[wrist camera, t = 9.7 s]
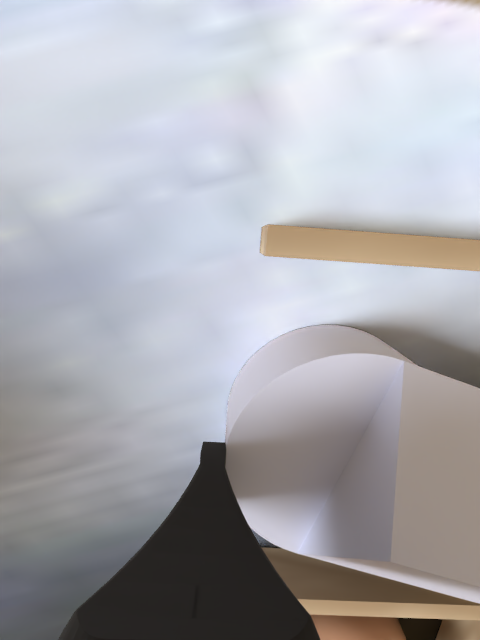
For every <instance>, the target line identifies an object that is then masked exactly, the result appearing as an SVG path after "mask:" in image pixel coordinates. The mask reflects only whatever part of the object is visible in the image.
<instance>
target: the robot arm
mask: <svg viewBox="0 0 480 640" xmlns="http://www.w3.org/2000/svg"><path fill="white" fill-rule="evenodd" d="M225 467H226V443H220V442H203V445H202V450H201V457H200V465H199V467H198V469H197V471H196V473H195V475H194V477H193V478H192V480H191V482H190V484H189V485H188V487H187V488H186V490H185V492H184V493H183V495H182V496H181V498H180V499H179V501H178V502H177V504H176V505H175V507H174V508H173V510H172V511H171V512H170V514H169V515H168V516H167V518H166V519H165V520H164V522H163V523H162V524H161V525H160V527H159V528H158V529H157V530H156V531H155V533H154V534H153V535H152V536H151V537H150V539H149V540H148V541H147V542H146V543H145V544H144V545H143V547H142V548H141V549H140V550H139V551H138V552H137V553H136V554H135V555H134V556H133V557H132V558H131V559H130V560H129V561H128V562H127V563H126V564H125V565H124V566H123V567H122V568H121V569H120V570H119V571H118V572H117V573H116V575H114V576H113V577H112V578H111V579H110V580H109V581H108V582H107V583H106V584H105V585H104V586H103V587H101V588H100V589H99V590H98V591H97V592H96V593H95V594H94V595H92V596H91V597H90V598H89V599H88V600H87V601H86V602H85V603H83V604H82V605H81V606H80V607H79V608H78V609H77V610H76V611H75V612H74V614H73V615H72V617H71V619H70V620H69V622H68V624H67V625H66V627H65V629H64V630H63V632H62V634H61V636H60V637H59V639H58V640H320V637H319V634H318V632H317V629H316V627H315V624H314V622H313V620H312V617H311V615H310V614H309V613H308V612H307V610H306V609H305V608H304V607H303V606H302V604H301V603H300V602H299V601H298V599H297V598H296V597H295V596H294V594H293V593H292V592H291V590H290V589H289V588H288V586H287V585H286V584H285V582H284V581H283V579H282V578H281V577H280V575H279V574H278V573H277V571H276V570H275V568H274V567H273V565H272V564H271V562H270V560H269V559H268V557H267V556H266V554H265V553H264V551H263V549H262V548H261V546H260V545H259V543H258V541H257V540H256V538H255V536H254V534H253V532H252V531H251V529H250V527H249V525H248V523H247V521H246V519H245V517H244V515H243V513H242V511H241V508H240V506H239V504H238V502H237V499H236V497H235V494H234V492H233V489H232V486H231V483H230V481H229V478H228V475H227V471H226V468H225Z"/></svg>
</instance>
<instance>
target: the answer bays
mask: <svg viewBox="0 0 480 640" xmlns="http://www.w3.org/2000/svg"><path fill="white" fill-rule="evenodd" d="M260 253H261V254H263V255H264V256H273V257H287V258H301V259H315V260H329V261H344V262H358V263H372V264H386V265H400V266H414V267H429V268H443V269H457V270H471V271H480V240H472V239H458V238H445V237H431V236H418V235H404V234H391V233H377V232H363V231H350V230H336V229H323V228H309V227H296V226H282V225H266V226H263V227H262V232H261V244H260ZM261 548H262V549H263V551H264V553H265V554H266V556H267V557H268V559H269V560H270V562H271V564H272V565H273V567H274V568H275V570H276V571H277V573H278V574H279V575H280V577H281V578H282V579H283V581H284V582H285V584H286V585H287V586H288V588H289V589H290V590H291V592H292V593H293V594H294V596H295V597H296V598H297V599H298V601H299V602H300V603H301V604H302V606H303V607H304V608H305V609H306V610H307V612H308V613H309V614H310V615H339V616H368V617H397V618H425V619H443V620H442V623H441V626H440V629H439V631H438V634H437V637H436V640H480V603H475V602H471V601H468V600H464V599H460V598H457V597H453V596H450V595H446V594H442V593H439V592H435V591H431V590H428V589H424V588H420V587H417V586H413V585H410V584H406V583H402V582H399V581H395V580H391V579H388V578H384V577H381V576H377V575H373V574H370V573H366V572H362V571H359V570H355V569H352V568H348V567H344V566H341V565H337V564H333V563H330V562H326V561H322V560H319V559H315V558H312V557H308V556H304V555H301V554H297V553H294V552H291V551H288V550H285V549H283V548H265V547H261Z"/></svg>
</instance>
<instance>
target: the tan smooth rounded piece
mask: <svg viewBox="0 0 480 640" xmlns="http://www.w3.org/2000/svg"><path fill="white" fill-rule="evenodd" d="M311 617H312V620H313V622H314V624H315V627H316V629H317V632H318V634H319V637H320V640H407V639H406V637H405V635H404V632H403V630H402V628H401V625H400V623H399V621H398V618H397V617H368V616H339V615H311Z"/></svg>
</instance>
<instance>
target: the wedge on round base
mask: <svg viewBox="0 0 480 640" xmlns="http://www.w3.org/2000/svg"><path fill="white" fill-rule="evenodd" d="M225 443H226V467H225V468H226V471H227V475H228V478H229V481H230V483H231V486H232V489H233V492H234V494H235V497H236V499H237V502H238V504H239V506H240V508H241V511H242V513H243V515H244V517H245V519H246V521H247V523H248V525H249V527H250V528H251V529H253V530H254V531H255V532H256V533H257V534H258V535H260V536H261V537H263V538H264V539H266V540H267V541H269V542H270V543H272V544H274V545H277V546H279V547H281V548H283V549H285V550H288V551H291V552H294V553H297V554H301V555H304V556H308V557H312V558H315V559H319V560H322V561H326V562H330V563H333V564H337V565H341V566H344V567H348V568H352V569H355V570H359V571H362V572H366V573H370V574H373V575H377V576H381V577H384V578H388V579H391V580H395V581H399V582H402V583H406V584H410V585H413V586H417V587H420V588H424V589H428V590H431V591H435V592H439V593H442V594H446V595H450V596H453V597H457V598H460V599H464V600H468V601H471V602H475V603H480V388H477V387H475V386H472V385H469V384H466V383H464V382H461V381H458V380H455V379H453V378H450V377H447V376H444V375H442V374H439V373H436V372H433V371H431V370H428V369H425V368H422V367H419V366H418V365H416V364H415V363H413V362H412V361H410V360H409V359H408V358H406V357H405V356H403V355H402V354H401V353H399V352H398V351H396V350H395V349H393V348H392V347H391V346H389V345H388V344H386V343H385V342H383V341H382V340H380V339H379V338H377V337H376V336H374V335H371V334H369V333H367V332H365V331H362V330H359V329H355V328H352V327H347V326H340V325H317V326H309V327H305V328H301V329H297V330H294V331H291V332H289V333H286V334H283V335H281V336H279V337H278V338H276V339H274V340H272V341H270V342H269V343H267V344H266V345H265V346H263V347H262V348H261V349H259V350H258V351H257V352H256V353H255V354H254V355H253V356H252V357H251V358H250V359H249V360H248V361H247V362H246V364H245V365H244V366H243V368H242V369H241V370H240V372H239V374H238V376H237V377H236V379H235V381H234V383H233V386H232V388H231V391H230V395H229V399H228V403H227V416H226V434H225Z"/></svg>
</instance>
